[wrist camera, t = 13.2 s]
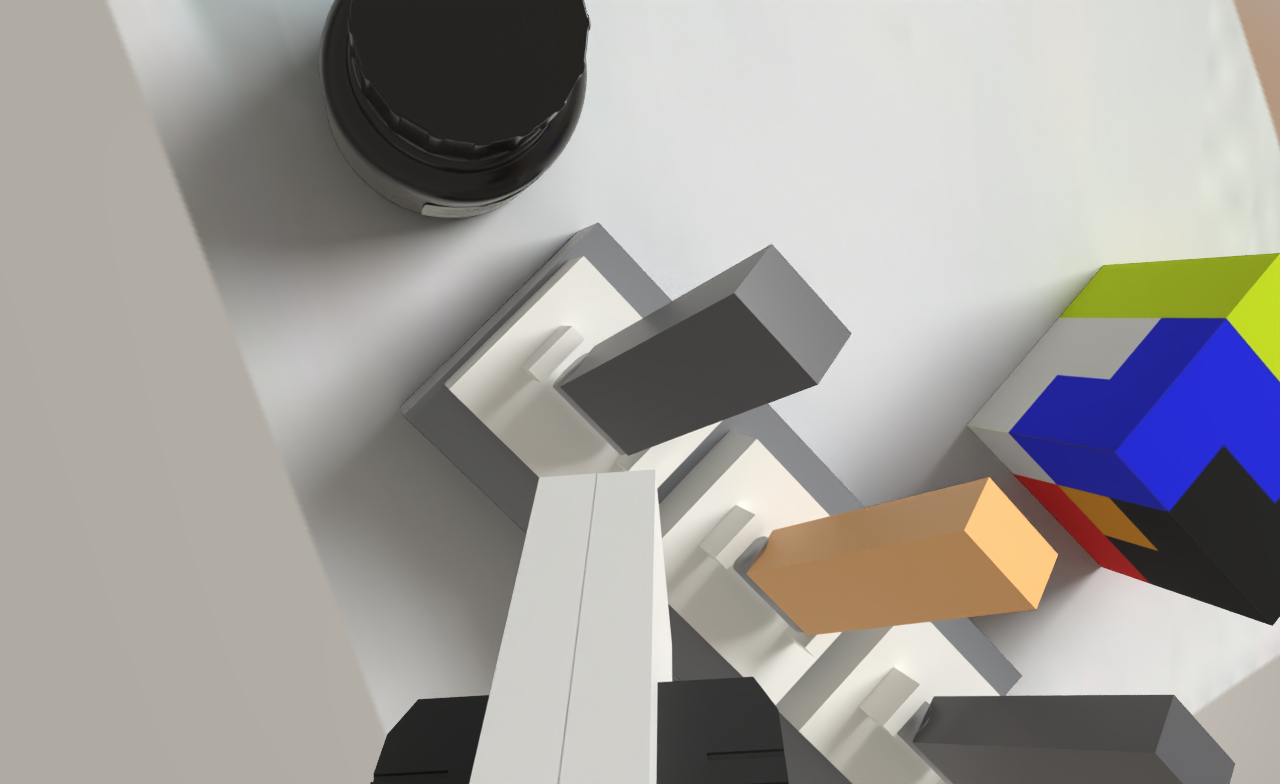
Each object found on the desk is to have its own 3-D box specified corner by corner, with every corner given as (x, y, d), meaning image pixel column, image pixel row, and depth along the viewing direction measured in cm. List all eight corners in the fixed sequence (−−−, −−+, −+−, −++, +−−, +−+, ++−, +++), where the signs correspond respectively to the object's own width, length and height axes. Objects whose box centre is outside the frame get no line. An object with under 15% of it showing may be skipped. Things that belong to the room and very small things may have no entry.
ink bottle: (468, 273, 42) (504, 256, 31) (273, 136, 40) (232, 63, 29) (605, 75, 43) (690, -13, 32) (421, -69, 41) (439, -220, 30)
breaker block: (581, 228, 43) (719, 169, 26) (972, 645, 49) (1302, 825, 32) (400, 406, 42) (420, 469, 25) (824, 812, 48) (1082, 1096, 30)
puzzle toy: (965, 425, 48) (1114, 452, 39) (1102, 265, 50) (1280, 252, 40) (1100, 566, 51) (1272, 625, 41) (1228, 410, 52) (1425, 432, 42)
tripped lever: (749, 536, 38) (989, 476, 29) (807, 595, 39) (1058, 554, 30) (723, 578, 37) (964, 530, 28) (783, 638, 38) (1036, 609, 29)
